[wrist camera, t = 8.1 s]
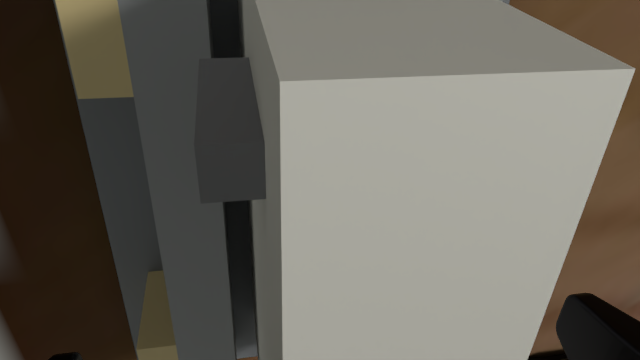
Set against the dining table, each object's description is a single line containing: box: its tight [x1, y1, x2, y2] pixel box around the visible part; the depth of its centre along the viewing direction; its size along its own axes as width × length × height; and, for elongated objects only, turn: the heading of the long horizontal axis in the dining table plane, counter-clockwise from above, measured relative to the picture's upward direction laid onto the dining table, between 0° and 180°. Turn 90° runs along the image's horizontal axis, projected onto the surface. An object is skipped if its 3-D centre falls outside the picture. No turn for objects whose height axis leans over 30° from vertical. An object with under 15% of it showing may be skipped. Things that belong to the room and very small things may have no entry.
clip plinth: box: [53, 0, 510, 360], centre depth 14 cm, size 16×11×4 cm
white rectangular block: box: [194, 0, 635, 360], centre depth 11 cm, size 13×4×9 cm, turn 178°
